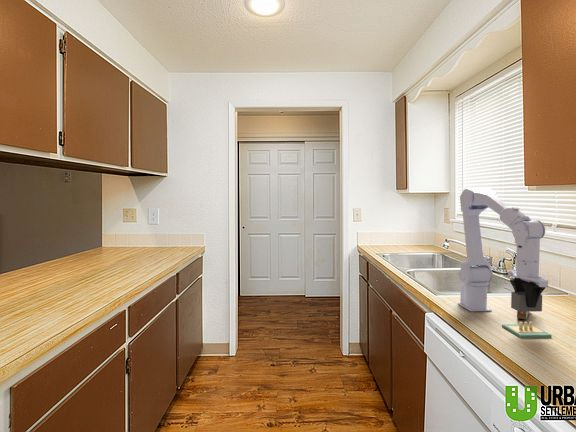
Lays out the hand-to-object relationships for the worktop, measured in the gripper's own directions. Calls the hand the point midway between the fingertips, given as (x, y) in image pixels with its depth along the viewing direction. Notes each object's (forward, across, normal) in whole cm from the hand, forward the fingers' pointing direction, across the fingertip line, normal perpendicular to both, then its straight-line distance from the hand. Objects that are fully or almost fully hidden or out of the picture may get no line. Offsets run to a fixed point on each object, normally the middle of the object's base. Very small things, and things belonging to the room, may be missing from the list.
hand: (526, 304), depth 107 cm
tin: (+9, -14, +9) cm, 19 cm away
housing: (+1, 0, 0) cm, 1 cm away
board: (+8, 0, 0) cm, 8 cm away
